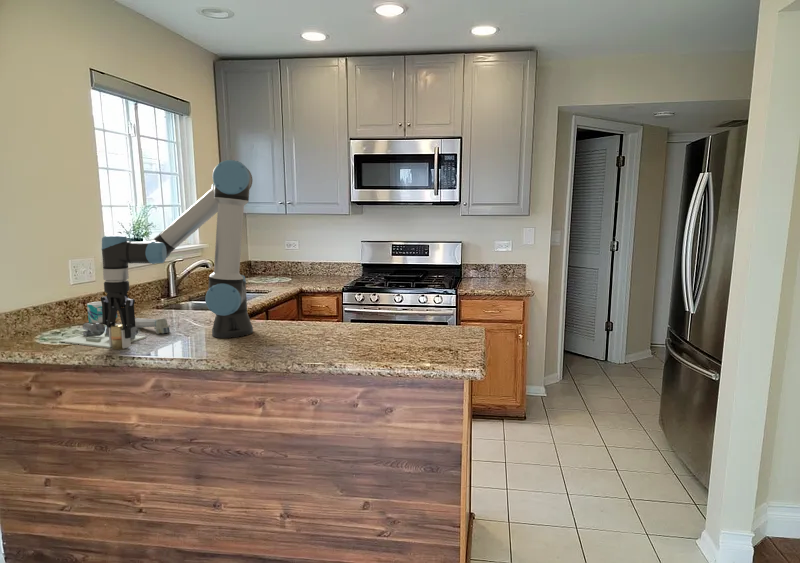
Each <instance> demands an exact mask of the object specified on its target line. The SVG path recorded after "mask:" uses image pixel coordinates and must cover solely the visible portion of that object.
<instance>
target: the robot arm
mask: <svg viewBox="0 0 800 563" xmlns="http://www.w3.org/2000/svg"><path fill="white" fill-rule="evenodd" d="M212 171H213V172H212V182H213V183H212V184H211V189H209V190H208V191H207V192H206V193H205V194H204V195H202V196H201V197H200V198H199V199H198V200H197V201H195V203H193V204H192V205H191V206H190V207H189V208H187V209H186V210H185V211H184V212H183V213H182V214H180V216H178V217H177V218H176V219H175V220H174V221H173V222H171V223H170V224H169V225H168V226H167V227H165V229H164V230H162V231H161V232H160V233H159V234H158V235H156V236H155V237H154V238H153V239H152V240H148V241H130V240H128V239H127V236H126V235H119V234H117V235H114V234H113V235H109V234H108V235H104V236H102V238H101V254H102V255H101V258H102V275H103V276H102V278H103V280H104V282H103V289H104V292H105V293H106V295H105V296H102V297H100V301H101V302H102V320H103V322H102V324H103V325H104V326H106V328H107V327H108V335H109V345H110V346H112V340H111V336H112V335H111V326H113V325H118V324H117V323H116V321H117V318H116V316H117V317H118V313H119V318H120V321H121V324H122V326H123V328H122V330H121V333H122V348H126V349H128V348H130V347H131V346H132V345H131V344H132V342H130V338H131V328H133V327H135V318H136V316H135V302H136V300H135V299H134V298H129V295H128V292H129V291H130V281H129V278H130V277H129V264H152V265H155V264H163V263H164V262H166V259H167V258H168V257H169V256H170V255H171V253H172V252H173V251H175V249H176V248H178V247H179V246H180V245H181V244H183V242H184V241H185V240H187V239H188V238H189V237H190V236H192V235H193V234H194V233H195V232H196V231H197V230H199V229H200V228H201V227H202V226H203V225H204V224H206V222H208V221H209V220H210V219H211V218H213V217H214V216H215V215H216V216H217V217H216V229H215V230H216V232H215V233H216V234H215V248H214V250H215V251H214V265H213V272H211V274H209V275H208V289H207V290H206V293H205V297H204V298H205V299H204V300H205V304H206V307H207V308H208V310H210V312H211V313H213V314H215V317H214V320H213V325H212V328H211V336H212V337H214V338H217V339H218V338H220V339H232V338H231V337H234V338H240V337H239V336H241V337H245V336H244V335H246V336H248V335H247V334H249V335H251V334H253V333H254V327H253V324H252V322H251V321H252V320H251V318H250V316H249V314H248V302H247V299H248V298H247V281H246V276H245V275H243V274H241V273H240V268H241V267H240V266H241V252H242V238H243V237H242V236H243V223H244V222H243V221H244V208H245V205H247V204H248V203H249V202H250V201H249V199H250V189H251V188H252V185H253V176H252V172H251V171H250V170H249V168H247V166H246V165H245V164H244V163H242V162H241V161H238V160H235V159H226V160H223V161H220V162H219V163H218V164H217V165H216V166H215V167H214V168H213V170H212ZM106 320H107V321H106ZM126 325H127V326H126ZM252 332H253V333H252ZM250 333H251V334H250ZM127 347H128V348H127Z"/></svg>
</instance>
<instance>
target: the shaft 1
mask: <svg viewBox="0 0 800 563" xmlns="http://www.w3.org/2000/svg"><path fill="white" fill-rule="evenodd" d="M105 326H106V325H103V323H89V322H85V323H84V324H82V329H83V330H84V331H82V335H83V336H86V337H88V336H94V335H95V336H100V335H102V334H103V333H104V332H105V333H106V327H105Z"/></svg>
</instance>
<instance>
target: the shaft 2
mask: <svg viewBox="0 0 800 563" xmlns="http://www.w3.org/2000/svg"><path fill="white" fill-rule="evenodd" d="M105 333H106V335H107V336H108V337H109V335H108V327H107V326H106V327H105ZM138 334H139V328H137V327H133V328H131V338H130V340H131V339H133V338H135V336H138Z"/></svg>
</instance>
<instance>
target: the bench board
mask: <svg viewBox="0 0 800 563" xmlns="http://www.w3.org/2000/svg"><path fill="white" fill-rule="evenodd" d="M144 339H147V337H146V336H143V335H135V338H133V339H131V340H130V342H131V343H134V342H136V341H140V340H144ZM58 342H59V343H61V342H65V343H64V344H70V343H72V344H71V345H78V344H79V345H80V346H87V347H88V346H89V347H94V348H95V347H97V348H104V349H111V348H112V349H113V346H110V345H109V337H108V336H107V335H106V331H105V332H104V333H103V334H102V335H100V336H95V335H94V336H88V337H86V336H83V334H80V335H78V336H72V337H69V338H65V339H61V340H59V341H58Z"/></svg>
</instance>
